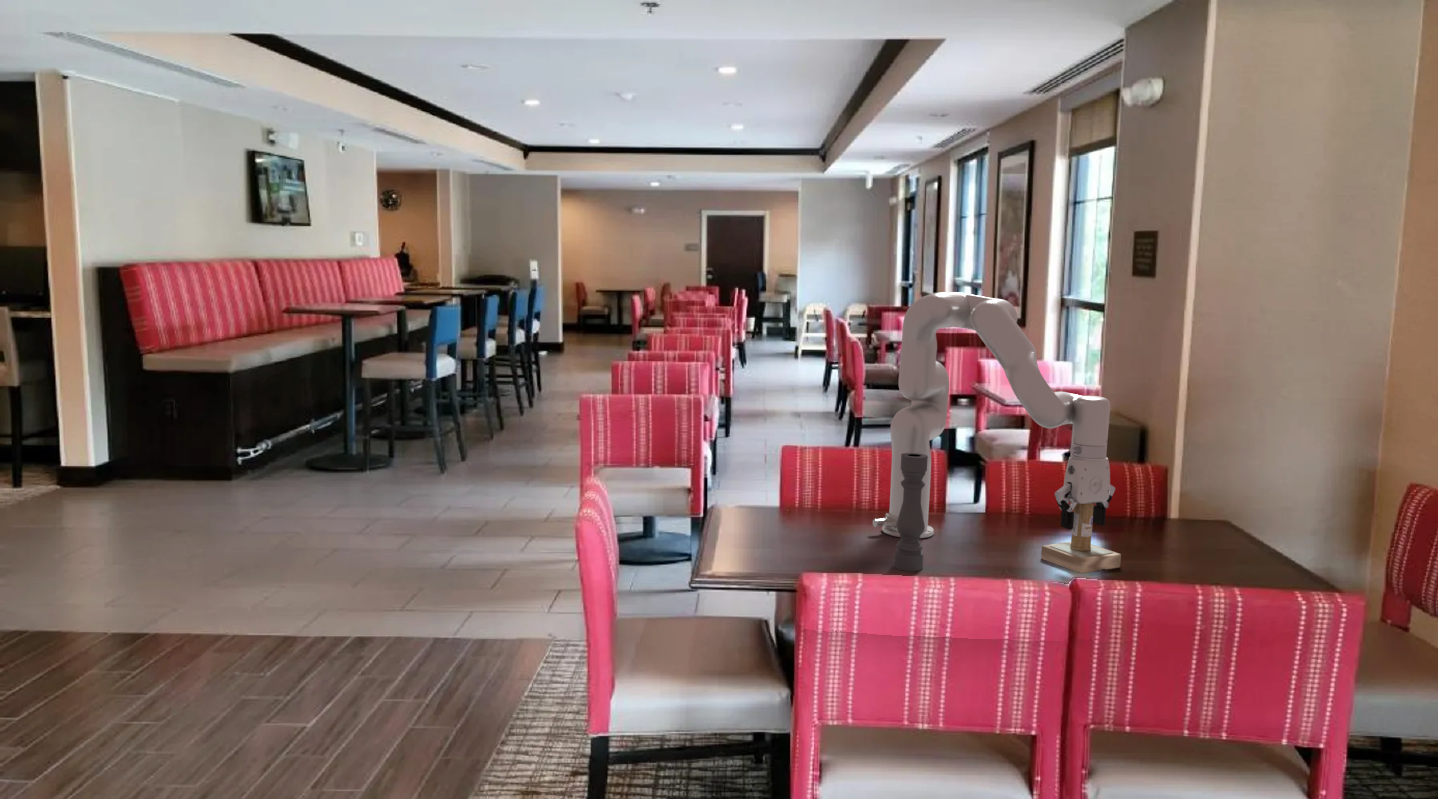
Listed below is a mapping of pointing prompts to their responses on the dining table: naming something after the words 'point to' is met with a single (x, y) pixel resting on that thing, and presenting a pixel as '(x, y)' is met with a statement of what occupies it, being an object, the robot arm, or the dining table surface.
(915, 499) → the candle holder
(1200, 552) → the dining table surface
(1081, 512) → the sprinkles bottle
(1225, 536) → the dining table surface
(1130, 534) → the dining table surface
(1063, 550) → the tray
